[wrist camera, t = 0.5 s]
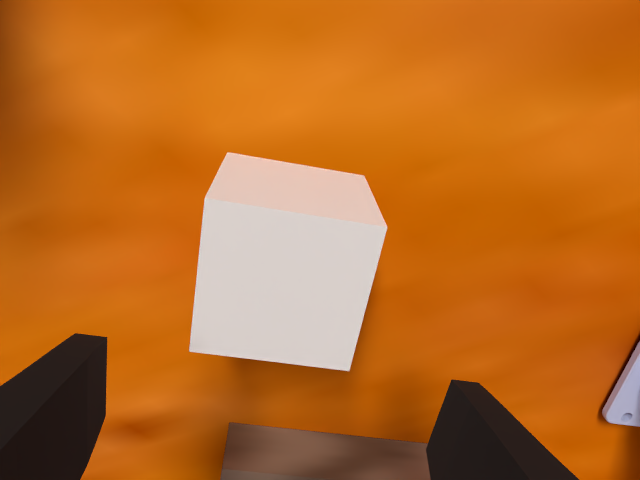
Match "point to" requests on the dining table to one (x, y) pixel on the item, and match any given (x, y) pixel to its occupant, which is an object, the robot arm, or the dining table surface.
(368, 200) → the off-white block
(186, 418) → the dining table surface
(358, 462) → the walnut block
